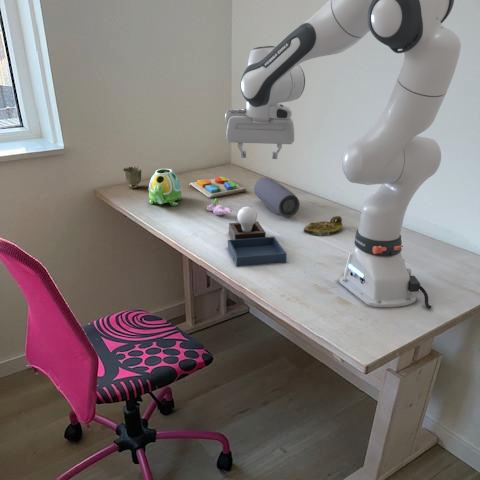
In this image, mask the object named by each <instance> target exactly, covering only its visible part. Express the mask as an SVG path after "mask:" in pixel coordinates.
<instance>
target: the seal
mask: <svg viewBox="0 0 480 480" xmlns="http://www.w3.org/2000/svg"><path fill="white" fill-rule="evenodd" d="M343 225H344V224H343V219H342V217H341V215H337V216H336V215H335V216H332V217H331V219H330V221H325V220H324V221H317V222H310V223H309V224H307V225H306V226H305V227H304V228H303V232H304V233H308V234H311V235H312V236H313V235H314V236H330V235H334V234H337V233H340V232H342V230H343V227H344V226H343Z"/></svg>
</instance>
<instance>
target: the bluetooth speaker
mask: <svg viewBox="0 0 480 480" xmlns="http://www.w3.org/2000/svg"><path fill="white" fill-rule="evenodd" d="M253 192H254V194H255V196H256V197H257V198H258V199H259V200H260V201H261V202H262V203H263V204H264V206H266V207H267V209H269V211H271V212H272V213H274V214H275V215H277V216H281V217H284V218H291V217H293V216H295V215H296V214H297V213H298V211H299V209H300V206H301V205H300V200H299V198H298V197H297V196H296V194H295V193H293V192H292V191H291V190H289V189H288V188H287V187H285V186H284V185H282V184H281V183H280V182H278V181H276V180H274V179H272V178H271V177H268V176H263V177H260V178H259V179H257V180H256V182H255V184H254V186H253Z"/></svg>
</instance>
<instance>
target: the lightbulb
mask: <svg viewBox="0 0 480 480" xmlns="http://www.w3.org/2000/svg"><path fill="white" fill-rule="evenodd" d="M236 216H237V217H236V219H237V221H238V223H240V224H241V227H242V230H243V232H251V230H252V226H253V225H254V223H255V222H256V221H257V220H258V213H257V211H256V210H255V208H254V207H251V206H248V205H247V206H243V207H241V208H240V209H238V212H237V215H236Z"/></svg>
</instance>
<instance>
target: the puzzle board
mask: <svg viewBox="0 0 480 480" xmlns="http://www.w3.org/2000/svg"><path fill="white" fill-rule="evenodd" d="M188 185H189V186H190V187H192V188H194V189H196V190H197V191H198V192H200V193H202V195H204V196H205V197H207V198H208V199H212V198H217V197H222V196H228V195H233V194H239V193H244V192H247V188H245V187H242V186H240V185H239V184H237V182H236V183H235V182H234V181H232V180H231V179H229V178H227V177H225V176H216V177H215V178H212V179H207V178H204V179H203V178H202V179H197V180H196V181H194V182H189V184H188Z"/></svg>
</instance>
